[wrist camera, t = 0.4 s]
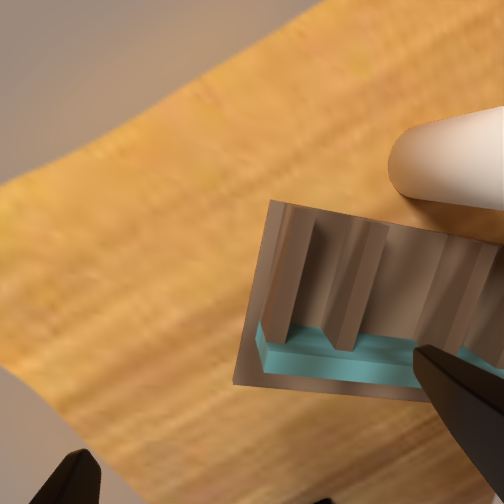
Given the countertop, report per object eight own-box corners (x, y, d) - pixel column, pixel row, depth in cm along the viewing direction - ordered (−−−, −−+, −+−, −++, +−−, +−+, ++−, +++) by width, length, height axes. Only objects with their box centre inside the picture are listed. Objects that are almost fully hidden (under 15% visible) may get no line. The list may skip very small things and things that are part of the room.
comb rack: (518, 247, 24) (586, 264, 20) (456, 400, 27) (503, 444, 23) (270, 199, 21) (285, 207, 17) (232, 379, 24) (237, 426, 20)
